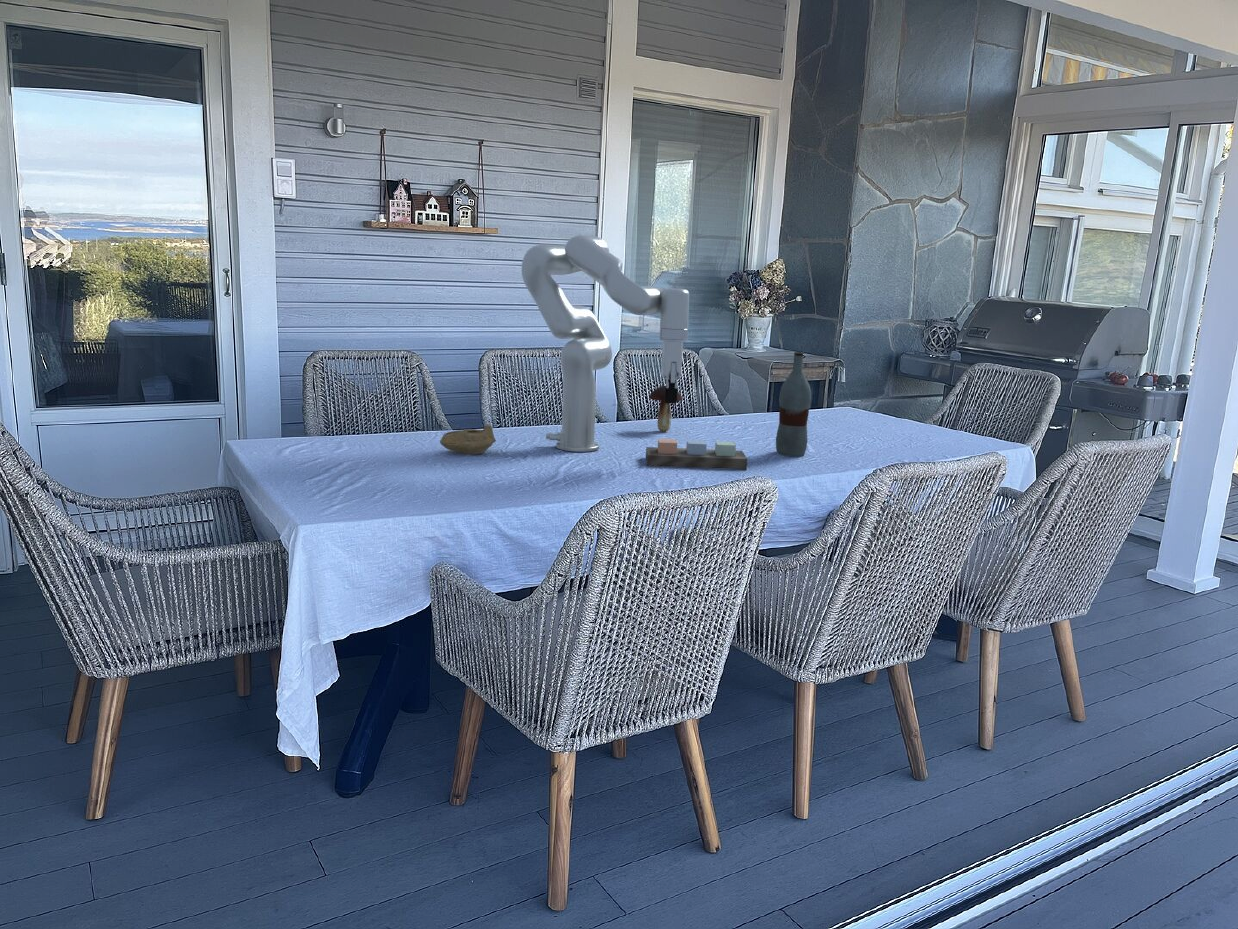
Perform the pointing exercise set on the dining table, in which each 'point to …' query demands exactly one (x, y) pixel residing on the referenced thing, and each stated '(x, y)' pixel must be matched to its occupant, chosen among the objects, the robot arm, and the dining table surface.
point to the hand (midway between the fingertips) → (670, 402)
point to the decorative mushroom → (663, 408)
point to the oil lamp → (469, 440)
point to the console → (696, 459)
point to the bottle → (793, 411)
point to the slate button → (696, 447)
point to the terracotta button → (667, 446)
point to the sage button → (725, 448)
